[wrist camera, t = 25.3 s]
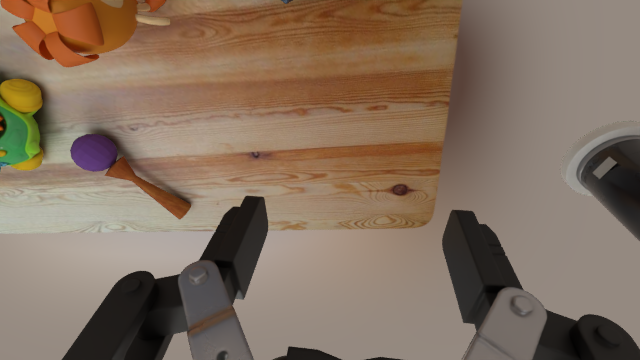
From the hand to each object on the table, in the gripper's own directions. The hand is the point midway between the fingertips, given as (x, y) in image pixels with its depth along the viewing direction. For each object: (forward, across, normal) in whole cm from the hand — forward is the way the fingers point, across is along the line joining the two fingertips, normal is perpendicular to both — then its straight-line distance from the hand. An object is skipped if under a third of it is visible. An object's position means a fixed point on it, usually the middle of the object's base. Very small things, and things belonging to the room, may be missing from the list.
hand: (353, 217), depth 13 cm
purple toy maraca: (+31, +37, +20) cm, 52 cm away
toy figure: (+31, +28, -5) cm, 41 cm away
